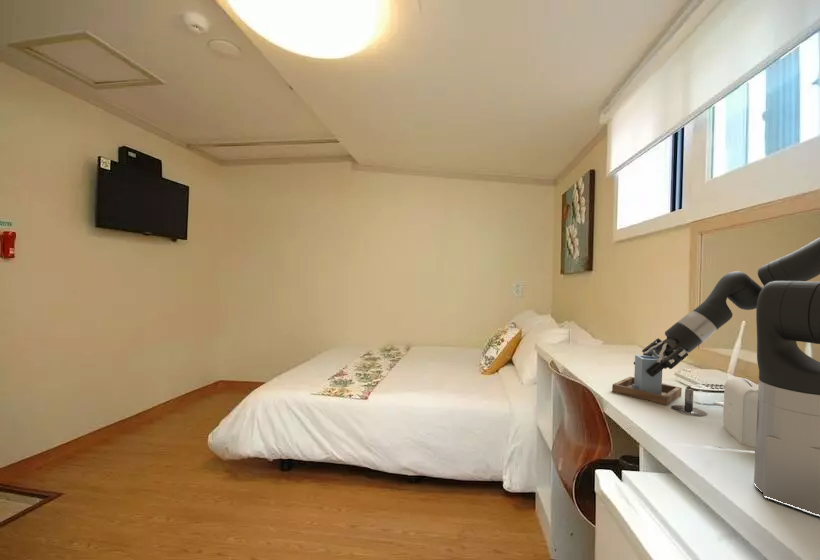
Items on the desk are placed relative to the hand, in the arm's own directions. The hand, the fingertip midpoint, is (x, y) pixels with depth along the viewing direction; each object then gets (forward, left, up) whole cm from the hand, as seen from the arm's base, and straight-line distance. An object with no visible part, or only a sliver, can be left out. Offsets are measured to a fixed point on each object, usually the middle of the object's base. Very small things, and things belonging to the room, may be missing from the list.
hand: (642, 369), depth 102 cm
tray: (+1, -1, -7) cm, 7 cm away
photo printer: (-13, -23, -7) cm, 28 cm away
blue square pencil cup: (+1, -1, -6) cm, 7 cm away
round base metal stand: (-5, -12, -7) cm, 15 cm away
